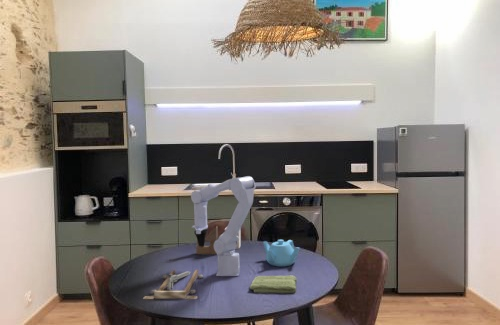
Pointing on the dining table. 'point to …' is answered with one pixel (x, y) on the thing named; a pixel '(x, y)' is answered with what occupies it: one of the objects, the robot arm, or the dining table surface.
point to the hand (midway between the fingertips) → (201, 245)
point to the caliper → (175, 279)
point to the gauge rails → (175, 294)
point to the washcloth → (274, 284)
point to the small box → (238, 239)
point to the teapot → (281, 253)
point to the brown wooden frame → (212, 238)
